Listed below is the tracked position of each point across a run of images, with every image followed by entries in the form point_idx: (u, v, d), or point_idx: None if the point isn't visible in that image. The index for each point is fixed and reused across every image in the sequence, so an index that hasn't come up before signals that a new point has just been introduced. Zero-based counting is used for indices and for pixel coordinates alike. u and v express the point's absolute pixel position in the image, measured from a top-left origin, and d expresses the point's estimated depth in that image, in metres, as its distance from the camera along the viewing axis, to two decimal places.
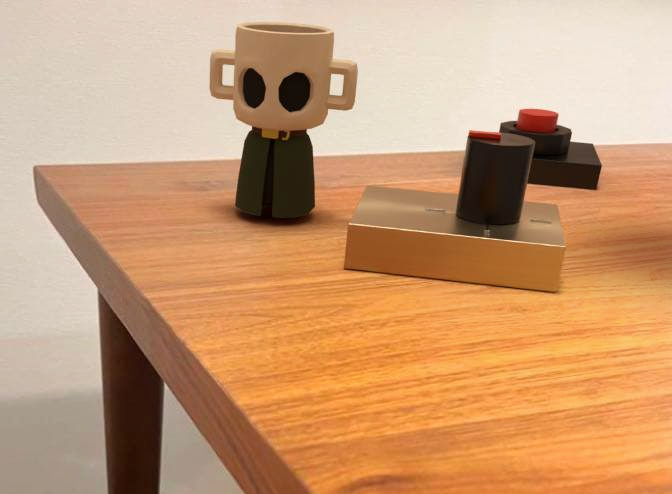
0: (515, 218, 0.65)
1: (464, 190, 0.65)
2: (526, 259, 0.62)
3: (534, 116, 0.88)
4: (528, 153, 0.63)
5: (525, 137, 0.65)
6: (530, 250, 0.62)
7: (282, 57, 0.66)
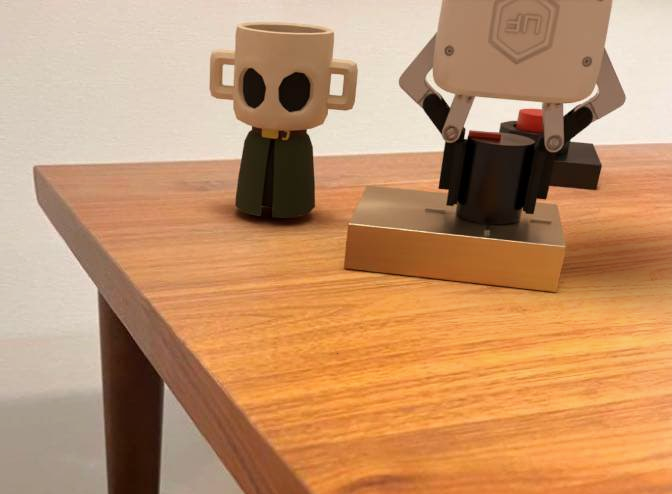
0: (515, 218, 0.65)
1: (464, 190, 0.65)
2: (526, 259, 0.62)
3: (534, 116, 0.88)
4: (528, 153, 0.63)
5: (525, 137, 0.65)
6: (530, 250, 0.62)
7: (282, 57, 0.66)
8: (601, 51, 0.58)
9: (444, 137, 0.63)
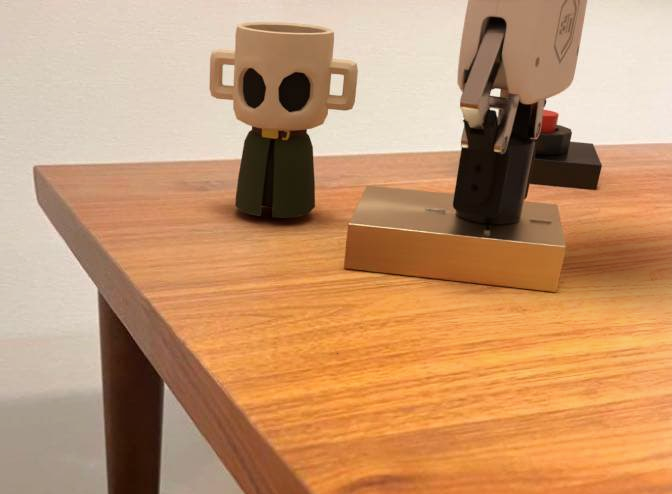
0: None
1: None
2: (526, 259, 0.62)
3: None
4: None
5: None
6: (530, 250, 0.62)
7: (282, 57, 0.66)
8: None
9: (501, 150, 0.61)
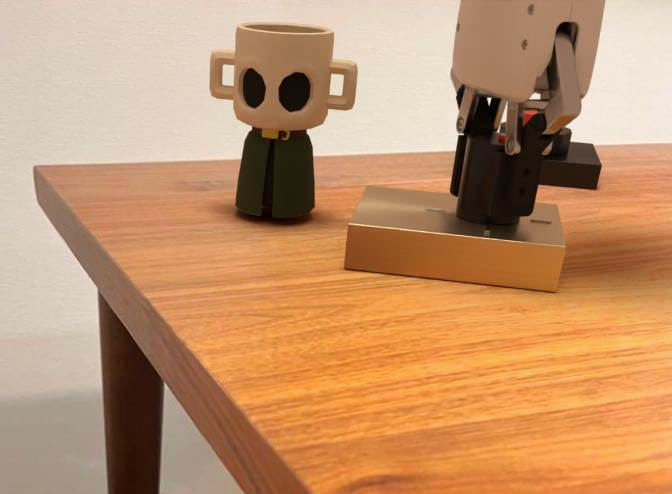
0: None
1: None
2: (526, 259, 0.62)
3: None
4: None
5: (473, 133, 0.65)
6: (530, 250, 0.62)
7: (282, 57, 0.66)
8: None
9: (548, 150, 0.61)
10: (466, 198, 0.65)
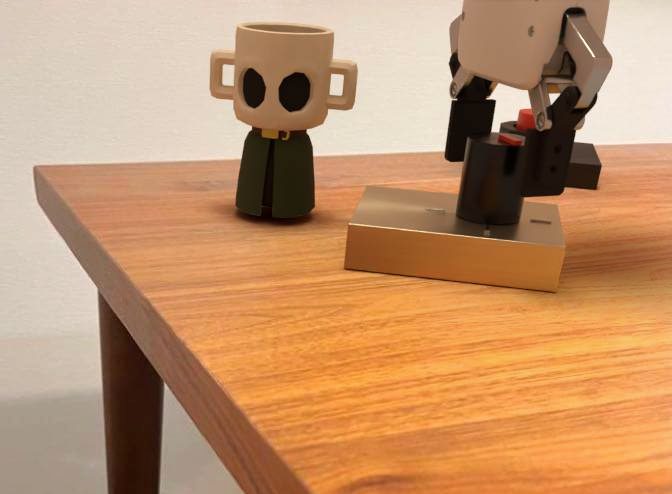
0: None
1: None
2: (526, 259, 0.62)
3: None
4: None
5: (474, 133, 0.65)
6: (530, 250, 0.62)
7: (282, 57, 0.66)
8: None
9: (582, 122, 0.58)
10: (465, 198, 0.65)
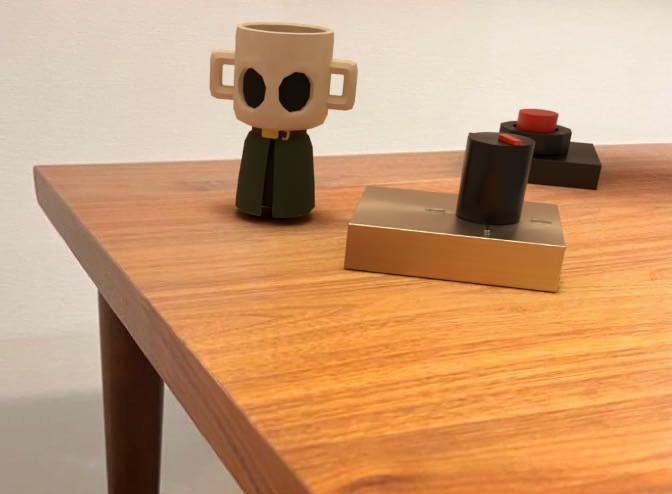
0: None
1: (521, 195, 0.65)
2: (526, 259, 0.62)
3: (534, 116, 0.88)
4: None
5: (474, 133, 0.65)
6: (530, 250, 0.62)
7: (282, 57, 0.66)
8: None
9: None
10: (465, 198, 0.65)
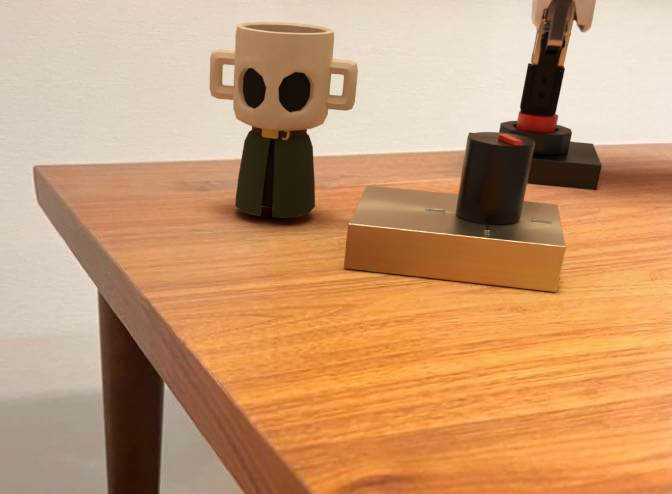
0: None
1: (521, 195, 0.65)
2: (526, 259, 0.62)
3: (533, 118, 0.88)
4: None
5: (474, 133, 0.65)
6: (530, 250, 0.62)
7: (282, 57, 0.66)
8: None
9: (562, 67, 0.86)
10: (465, 198, 0.65)
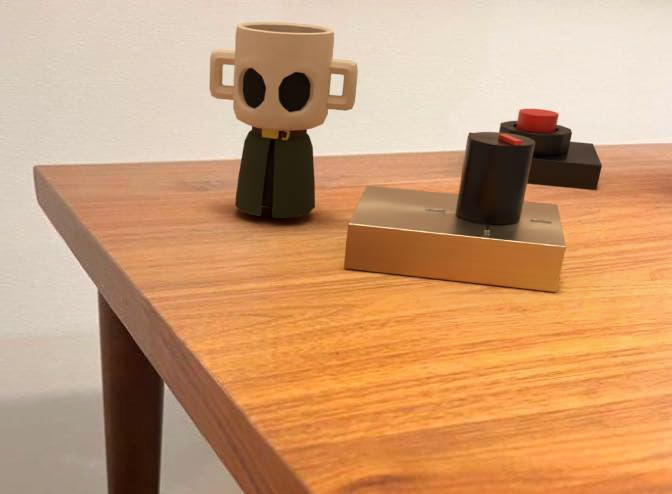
0: None
1: (521, 195, 0.65)
2: (526, 259, 0.62)
3: (534, 116, 0.88)
4: None
5: (474, 133, 0.65)
6: (530, 250, 0.62)
7: (282, 57, 0.66)
8: None
9: None
10: (465, 198, 0.65)
